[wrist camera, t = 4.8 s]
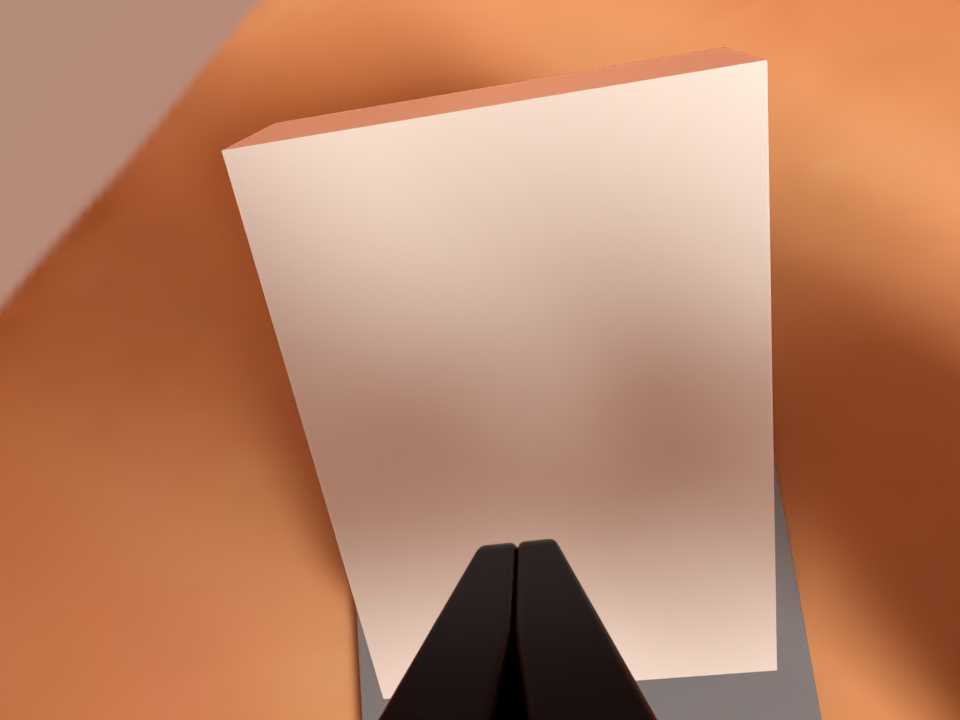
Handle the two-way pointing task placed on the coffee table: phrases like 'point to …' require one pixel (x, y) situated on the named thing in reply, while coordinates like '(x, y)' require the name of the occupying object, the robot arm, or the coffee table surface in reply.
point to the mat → (712, 698)
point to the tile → (538, 345)
